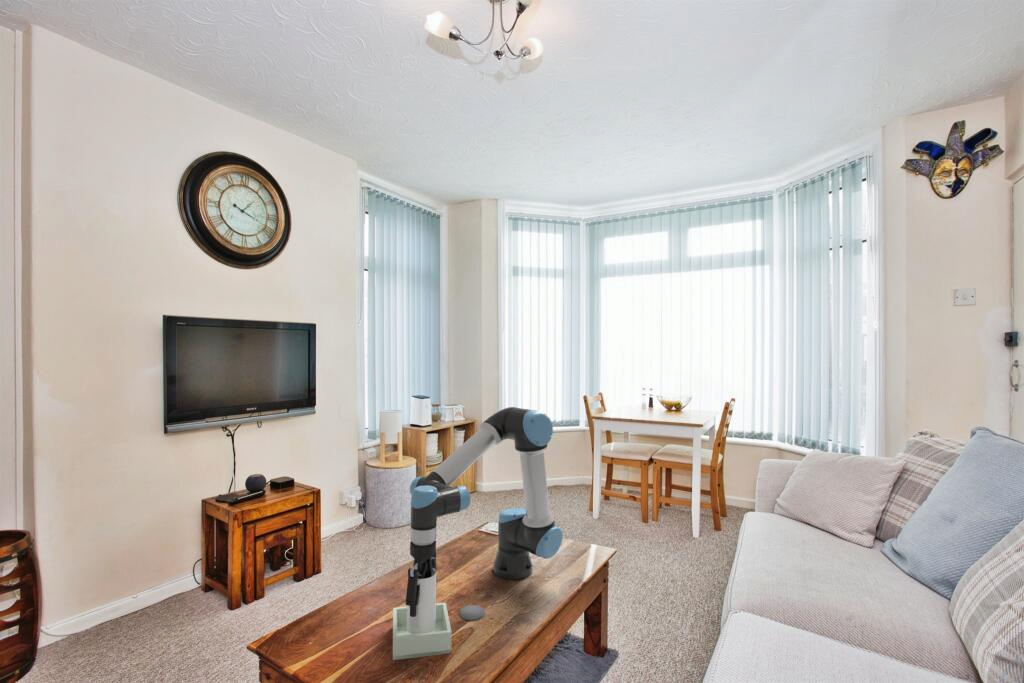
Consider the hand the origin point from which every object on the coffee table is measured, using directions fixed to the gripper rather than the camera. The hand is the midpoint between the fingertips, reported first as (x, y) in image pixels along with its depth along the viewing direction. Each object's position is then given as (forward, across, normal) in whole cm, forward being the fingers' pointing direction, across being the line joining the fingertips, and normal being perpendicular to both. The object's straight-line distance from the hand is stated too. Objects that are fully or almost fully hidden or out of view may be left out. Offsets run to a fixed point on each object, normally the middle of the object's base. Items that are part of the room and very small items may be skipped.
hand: (421, 617), depth 145 cm
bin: (+6, 0, 0) cm, 6 cm away
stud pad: (+6, -18, +9) cm, 21 cm away
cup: (+3, 0, 0) cm, 3 cm away
